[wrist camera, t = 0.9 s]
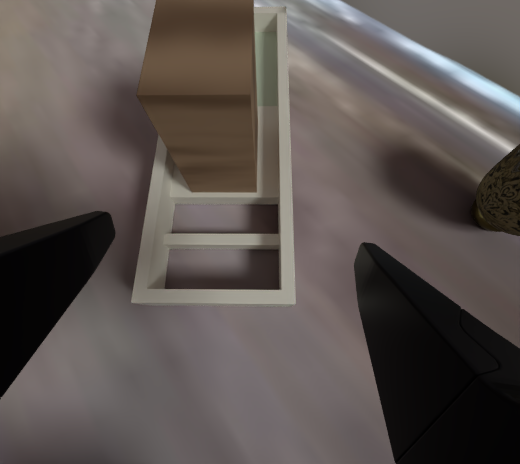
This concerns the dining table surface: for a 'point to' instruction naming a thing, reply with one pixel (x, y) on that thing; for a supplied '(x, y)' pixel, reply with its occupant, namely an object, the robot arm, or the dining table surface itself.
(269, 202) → the trap box
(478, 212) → the cup
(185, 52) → the tan upright block
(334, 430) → the dining table surface
